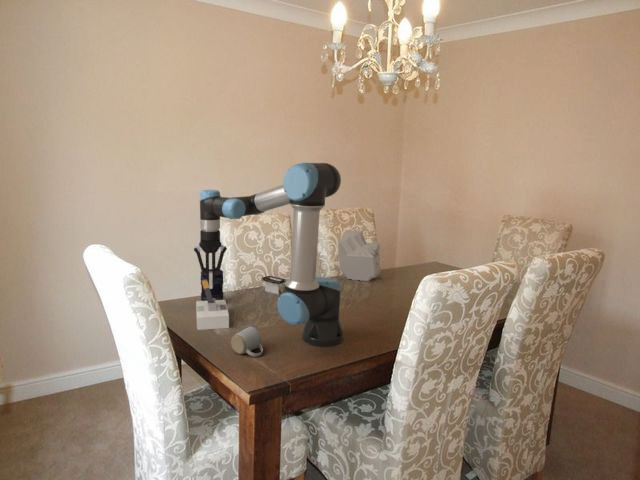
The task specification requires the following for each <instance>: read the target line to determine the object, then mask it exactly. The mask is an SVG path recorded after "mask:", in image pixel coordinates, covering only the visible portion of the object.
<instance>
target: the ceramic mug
mask: <svg viewBox="0 0 640 480" xmlns="http://www.w3.org/2000/svg"><path fill="white" fill-rule="evenodd" d="M230 344H231V345H230V346H231V348H232V350H233V351H234V352H235V353H236V354H238V355H244V354H247V355H249V356H250V357H253V358H257V357H260V356H262V354H263V352H264V348H263V345H262V336H261V334H260V332H259V330H258V329H257V328H256V327H254V326H249V327H246V328H244V329H242V330H241V331H239V332H237V333H235V334H234V335H233V336H232V337H231V340H230ZM255 349H256V350H257V349H260V352H257V353H255V352H252V351H253V350H255Z"/></svg>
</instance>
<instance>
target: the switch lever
mask: <svg viewBox="0 0 640 480" xmlns="http://www.w3.org/2000/svg"><path fill="white" fill-rule="evenodd" d="M202 284H203V287H204V290H205V294H206V297H207V301H208V303H214V302H213V298H212V295H211V292H210V289H209V284H208V281H207V280H202Z"/></svg>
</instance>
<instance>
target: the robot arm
mask: <svg viewBox="0 0 640 480" xmlns="http://www.w3.org/2000/svg"><path fill="white" fill-rule="evenodd" d="M341 183H342V179H341V173H340V172H339V170H338V169H337V168H336V167H335V166H334V165H332V164H330V163H328V162H302V163H301V162H300V163H296V164H294V165H291V166H290V167H289V168H288V169H287V170H286V172H285V174H284V177H283V181H282V184H280V185H277V186H275V187H272V188H270V189H267V190H263V191H260V192H258V193H254V194H251V195H246V196H234V197H233V196H232V197H227V196H221V192H220V191H219V190H217V189H203V190H200V194H199V213H200V214H199V215H200V216H199V224H200V225H199V227H200V230H199V231H200V232H199V233H200V234H199V235H200V239H199V241H200V242H199V243H198V245H197V246H194V247H193V251H194V252H195V254H196V257H197V260H198V263H199V267H200V270H201V271H204V272H206V280H209V289H212V280H215V272H216V271H219V270H221V268H222V263H223V259H224V255H225V253H226V251H227V250H228V248H227V246H225V245H224V244H222V242H221V231H220V229H221V218H226V219H229V220H240V219H241V218H242V217H246V216H254V215H255V216H256V215H257V216H258V215H262V214H264V213H265V212H267V211H270V210H273V209H277V208H280V207H283V206H286V205H289V206H291V208H292V209H293V215H292V216H293V218H292V235H291V236H292V237H291V252H290V253H291V254H290V271H289V272H290V273H289V274H290V275H289V276H290V277H289V279H288V280H286V281H287V282H285V285H284V292H282V293H281V294H280V296H279V297H278V300H277V302H276V303H277V311H278V313H279V315H280V317H282V319H283V321H285V322H286V323H287V324H289V325H292V326H300V325H303V324H305V325H304V326H303V327H304V328H303V330H302V332H301V333H302V334H301V337H302V339H301V340H303V342H305V343H306V344H308V345H311V346H317V347H333V346H336V345H339V344H341V343H342V342H343V338H344V333H343V329H342V325H341V322H340V304H341V303H340V302H341V292H342V291H341V283H340V281H339V280H338V279H334V278H330V277H324V276H316V275H317V260H318V259H317V258H318V241H319V227H320V212H321V211H322V209H323V208H325V205H326V198H329V197H332V196H334V195H335V194H336V193H337V192H338V191H339V190H340V187H341ZM219 249H220V252H219V253H220V254H219V256H218V257H219V258H218V261H217V266H216V254H217V252H218V251H219ZM201 250H202V251H203V252H204V253H205V266H204V262H203V259H202V255H201ZM210 254H211V269H212V271H209V269H210Z"/></svg>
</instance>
